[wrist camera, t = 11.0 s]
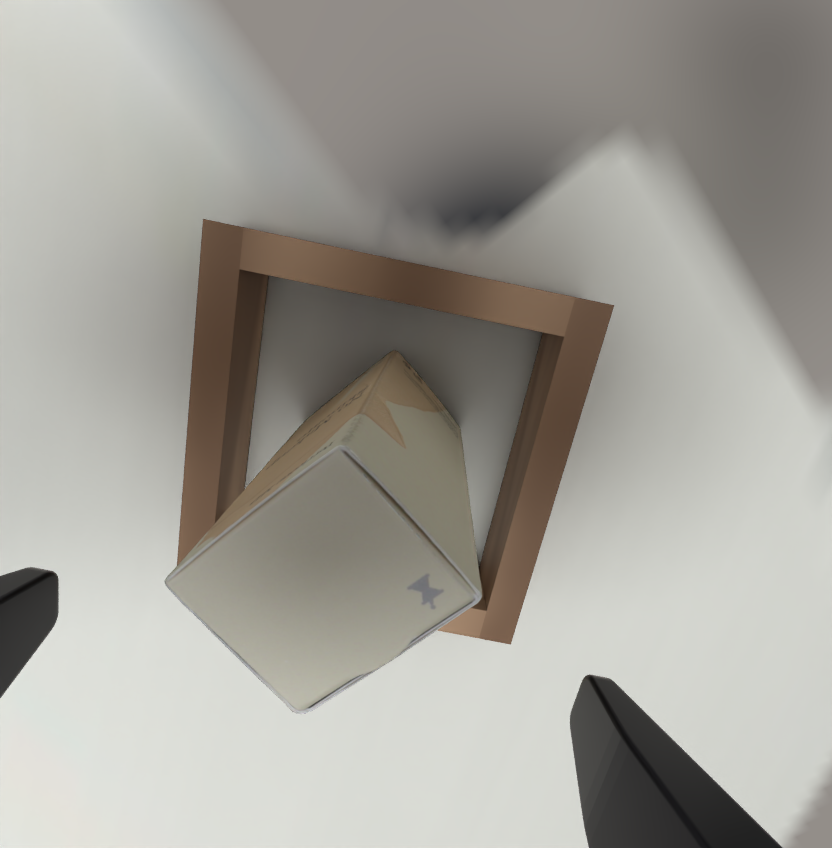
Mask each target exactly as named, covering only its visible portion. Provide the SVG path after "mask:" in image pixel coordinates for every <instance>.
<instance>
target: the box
mask: <svg viewBox="0 0 832 848" xmlns="http://www.w3.org/2000/svg"><path fill="white" fill-rule="evenodd" d="M165 584H166V586H167V587H168V589H169V590H170V591H171V592H172V593H173V594H174V595H175V596H176V597H177V598H178V599H179V600H180V602H181V603H182V604H183V605H184V606H186V607H187V608H188V609H189V610H190V611H191V612H192V613H193V614H194V615H195V616H196V617H197V618H198V619H199V620H200V621H201V622H202V623H203V624H204V625H205V626H206V627H207V628H208V629H209V630H210V631H211V632H212V633H213V634H214V635H215V636H216V637H217V638H218V639H219V640H220V641H221V642H222V643H223V644H224V645H225V646H226V647H227V648H228V649H229V650H230V651H231V652H232V653H233V654H234V655H235V656H236V657H237V658H238V659H239V660H240V661H241V662H242V663H243V664H244V665H245V666H246V667H248V668H249V669H250V670H251V671H252V672H253V673H254V674H255V675H256V676H257V677H258V679H259V680H261V681H262V682H263V683H264V684H265V685H266V686H267V687H268V688H269V689H270V690H271V691H272V692H273V693H274V694H275V695H276V696H277V697H278V698H280V699H281V700H282V701H283V702H284V703H285V704H286V706H287V707H288V708H289V709H290V710H291V711H292V712H295V713H298V714H306V713H308V712H310V711H313V710H314V709H316V708H317V707H319V706H320V705H322V704H323V703H325V702H327V701H328V700H330V699H331V698H333V697H335V696H336V695H338V694H339V693H341V692H343V691H344V690H346V689H347V688H349V687H351V686H352V685H354V684H355V683H357V682H359V681H360V680H362V679H363V678H365V677H367V676H368V675H370V674H371V673H373V672H374V671H376V670H378V669H379V668H381V667H382V666H384V665H385V664H387V663H388V662H390V661H392V660H393V659H395V658H396V657H398V656H399V655H401V654H402V653H404V652H405V651H407V650H408V649H410V648H411V647H413V646H414V645H416V644H417V643H419V642H420V641H422V640H423V639H425V638H426V637H428V636H429V635H431V634H432V633H434V632H435V631H437V630H438V629H440V628H441V627H443V626H444V625H446V624H447V623H449V622H450V621H452V620H453V619H455V618H456V617H458V616H459V615H461V614H462V613H463V612H465V611H466V610H468V609H469V608H471V607H473V606H474V605H476V604H477V603H478V602H479V601H480V600H481V598H482V588H481V581H480V576H479V568H478V560H477V553H476V545H475V539H474V530H473V522H472V516H471V509H470V501H469V493H468V484H467V476H466V469H465V461H464V453H463V444H462V437H461V430H460V428H459V426H458V424H457V423H456V422H455V420H454V419H453V418H452V416H451V415H450V414H449V412H448V411H447V410H446V408H445V407H444V406H443V404H442V403H441V402H440V401H439V400H438V398H437V397H436V396H435V394H434V393H433V392H432V391H431V389H430V388H429V387H428V386H427V384H426V383H425V382H424V381H423V380H422V379H421V377H420V376H419V375H418V374H417V373H416V371H415V370H414V369H413V368H412V367H411V366H410V364H409V363H408V362H407V361H406V360H405V359H404V358H403V357H402V355H401V354H400V353H399V352H398V351H396V350H394V351H391V352H390V353H388V354H387V355H386V356H385V357H383V358H382V359H381V360H380V361H378V362H377V363H376V364H374V365H373V366H372V367H371V368H369V369H368V370H367V371H366V372H364V373H363V374H362V375H361V376H359V377H358V378H357V379H356V380H354V381H353V382H352V383H351V384H349V385H348V386H347V387H346V388H344V389H343V390H342V391H341V392H340V393H338V394H337V395H336V396H335V397H333V398H332V399H331V400H330V401H329V402H327V403H326V404H325V405H324V406H323V407H321V408H320V409H319V410H318V411H316V412H315V413H314V414H313V415H312V416H310V417H309V418H308V419H307V420H306V421H305V422H304V423H303V424H302V425H301V426H300V427H299V428H298V429H297V430H296V431H295V433H294V434H293V435H292V436H291V437H290V438H289V440H288V441H287V442H286V443H285V444H284V445H283V446H282V447H281V448H280V450H279V451H278V452H277V453H276V454H275V455H274V456H273V457H272V459H271V460H270V461H269V462H268V463H267V464H266V466H265V467H264V468H263V469H262V470H261V471H260V473H259V474H258V475H257V476H256V477H255V478H254V479H253V481H252V482H251V483H250V484H249V485H248V486H247V487H246V489H245V490H244V491H243V492H242V493H241V494H240V495H239V496H238V498H237V499H236V500H235V501H234V502H233V503H232V504H231V506H230V507H229V508H228V509H227V510H226V511H225V512H224V513H223V515H222V516H221V517H220V518H219V519H218V521H217V522H216V523H215V524H214V525H213V526H212V527H211V529H210V530H209V531H208V532H207V533H206V534H205V535H204V537H203V538H202V539H201V540H200V541H199V542H198V543H197V544H196V546H195V547H194V548H193V549H192V550H191V551H190V552H189V553H188V555H187V556H186V557H185V558H184V559H183V560H182V561H181V562H180V564H179V565H178V566H177V567H176V568H175V569H174V570H173V571H172V572H171V573H170V574H169V575H168V577H167V578H166V579H165Z"/></svg>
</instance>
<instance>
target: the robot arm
mask: <svg viewBox="0 0 832 848" xmlns="http://www.w3.org/2000/svg"><path fill="white" fill-rule="evenodd" d="M57 617H58V576H57V574H56V573H55V572H53V571H49V570H44V569H39V568H33V567H30V568H25V569H21V570H18V571H15V572H12V573H9V574H5V575H2V576H0V698H1V697H2V695H3V694H4V693H5V691H6V690H7V689H8V687H9V686H10V685H11V683H12V682H13V681H14V679H15V678H16V677H17V675H18V674H19V673H20V671H21V670H22V669H23V667H24V666H25V665H26V663H27V662H28V661H29V659H30V658H31V657H32V655H33V654H34V653H35V651H36V650H37V649H38V647H39V646H40V645H41V643H42V642H43V641H44V639H45V638H46V637H47V635H48V634H49V633H50V631H51V630H52V628H53V627H54V625H55V623H56V620H57ZM570 729H571V737H572V744H573V751H574V758H575V765H576V772H577V780H578V787H579V794H580V801H581V808H582V815H583V821H584V827H585V832H586V836H587V841H588V846H589V848H782V847H781V846H780V845H779V844H778V843H777V842H776V841H775V840H774V839H773V838H772V837H771V836H770V835H769V834H768V833H767V832H766V831H765V830H764V829H763V828H762V827H761V826H760V825H759V824H758V823H757V822H756V821H755V820H754V819H753V818H752V817H751V816H750V815H749V814H748V813H747V812H746V811H745V810H744V809H743V808H742V807H741V806H740V805H739V804H738V803H737V802H736V801H735V800H734V799H733V798H732V797H731V796H730V795H729V794H728V793H726V792H725V791H724V790H723V789H722V788H721V787H720V786H719V785H718V784H717V783H716V782H715V781H714V780H713V779H712V778H711V777H710V776H709V775H708V774H707V773H706V772H705V771H704V770H703V769H702V768H701V767H700V766H699V765H698V764H697V763H696V762H695V761H694V760H693V759H692V758H691V757H690V756H689V755H688V754H687V753H686V752H685V751H684V750H683V749H682V748H681V747H680V746H679V745H678V744H677V743H676V742H675V741H674V740H673V739H672V738H671V737H670V736H669V735H668V734H667V733H666V732H664V731H663V730H662V729H661V728H660V727H659V726H658V725H657V724H656V723H655V722H654V721H653V720H652V719H651V718H650V717H649V716H648V715H647V714H646V713H645V712H644V711H643V710H642V709H641V708H640V707H639V706H638V705H637V704H636V703H635V702H634V701H633V700H632V699H631V698H630V697H629V696H628V695H627V694H626V693H625V692H624V691H623V690H622V689H621V688H620V687H619V686H618V685H617V684H616V683H615V682H614V681H612V680H611V679H609V678H605V677H600V676H595V675H587V676H585V677H584V679H583V681H582V683H581V686H580V688H579V691H578V694H577V697H576V699H575V702H574V705H573V708H572V711H571V715H570Z"/></svg>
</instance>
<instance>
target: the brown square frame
mask: <svg viewBox="0 0 832 848" xmlns="http://www.w3.org/2000/svg"><path fill="white" fill-rule="evenodd" d="M268 275H270V276H275V277H279V278H284V279H289V280H294V281H299V282H303V283H308V284H313V285H318V286H323V287H327V288H332V289H337V290H342V291H347V292H351V293H356V294H361V295H366V296H371V297H375V298H380V299H385V300H390V301H395V302H399V303H404V304H409V305H414V306H419V307H423V308H428V309H433V310H438V311H443V312H447V313H452V314H457V315H462V316H467V317H472V318H476V319H481V320H486V321H491V322H496V323H500V324H505V325H510V326H515V327H520V328H524V329H529V330H534V331H539V332H543V334H542V337H541V341H540V345H539V348H538V352H537V356H536V359H535V363H534V367H533V371H532V374H531V378H530V382H529V385H528V389H527V393H526V396H525V400H524V404H523V408H522V411H521V415H520V419H519V422H518V426H517V430H516V433H515V437H514V441H513V445H512V448H511V452H510V456H509V459H508V463H507V467H506V471H505V474H504V478H503V482H502V485H501V489H500V493H499V496H498V500H497V504H496V508H495V511H494V515H493V519H492V522H491V526H490V530H489V533H488V537H487V541H486V545H485V548H484V552H483V556H482V559H481V563H480V567H478V568H479V576H480V581H481V588H482V598H481V600H480V601H479V602H478V603H477V604H476V605H474V606H473V607H471V608H469V609H468V610H466V611H465V612H463V613H462V614H461V615H459V616H458V617H456V618H455V619H453V620H452V621H450V622H449V623H447V624H446V625H444V626H443V627H441V628H440V629H438V631H443V632H449V633H454V634H459V635H464V636H470V637H475V638H480V639H485V640H491V641H496V642H501V643H507V644H511V641H512V638H513V635H514V632H515V628H516V625H517V622H518V618H519V615H520V612H521V609H522V605H523V602H524V599H525V596H526V592H527V589H528V586H529V582H530V579H531V576H532V573H533V569H534V566H535V563H536V560H537V556H538V553H539V550H540V546H541V543H542V540H543V537H544V533H545V530H546V527H547V524H548V520H549V517H550V514H551V510H552V507H553V504H554V501H555V497H556V494H557V491H558V487H559V484H560V481H561V478H562V474H563V471H564V468H565V465H566V461H567V458H568V455H569V451H570V448H571V445H572V442H573V438H574V435H575V432H576V429H577V425H578V422H579V419H580V415H581V412H582V409H583V406H584V402H585V399H586V396H587V393H588V389H589V386H590V383H591V379H592V376H593V373H594V370H595V366H596V363H597V360H598V357H599V353H600V350H601V347H602V343H603V340H604V337H605V334H606V330H607V327H608V324H609V321H610V317H611V314H612V311H613V307H614V305H609V304H605V303H600V302H595V301H590V300H586V299H581V298H576V297H571V296H567V295H562V294H557V293H552V292H548V291H543V290H538V289H533V288H529V287H524V286H519V285H514V284H510V283H505V282H500V281H495V280H491V279H486V278H481V277H476V276H472V275H467V274H462V273H457V272H453V271H448V270H443V269H438V268H434V267H429V266H424V265H419V264H415V263H410V262H405V261H400V260H396V259H391V258H386V257H381V256H377V255H372V254H367V253H362V252H358V251H353V250H348V249H343V248H339V247H334V246H329V245H324V244H320V243H315V242H310V241H305V240H301V239H296V238H291V237H286V236H282V235H277V234H272V233H267V232H263V231H258V230H253V229H248V228H244V227H239V226H234V225H229V224H225V223H220V222H215V221H210V220H206V219H203V227H202V241H201V254H200V267H199V281H198V294H197V307H196V320H195V334H194V347H193V360H192V373H191V387H190V400H189V413H188V427H187V440H186V453H185V466H184V480H183V493H182V506H181V519H180V533H179V546H178V559H177V566H178V565H179V564H180V562H181V561H182V560H183V559H184V558H185V557H186V556H187V555H188V553H189V552H190V551H191V550H192V549H193V548H194V547H195V546H196V544H197V543H198V542H199V541H200V540H201V539H202V538H203V537H204V535H205V534H206V533H207V532H208V531H209V530H210V529H211V527H212V526H213V525H214V524H215V523H216V522H217V521H218V519H219V518H220V517H221V516H222V515H223V513H224V512H225V511H226V510H227V509H228V508H229V507H230V506H231V504H232V503H233V502H234V501H235V500H236V499H237V498H238V496H239V495H240V494H241V493H242V492H243V491H244V487H245V478H246V469H247V460H248V451H249V442H250V434H251V425H252V416H253V407H254V398H255V389H256V380H257V372H258V363H259V354H260V345H261V336H262V327H263V319H264V310H265V301H266V292H267V283H268Z"/></svg>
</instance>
